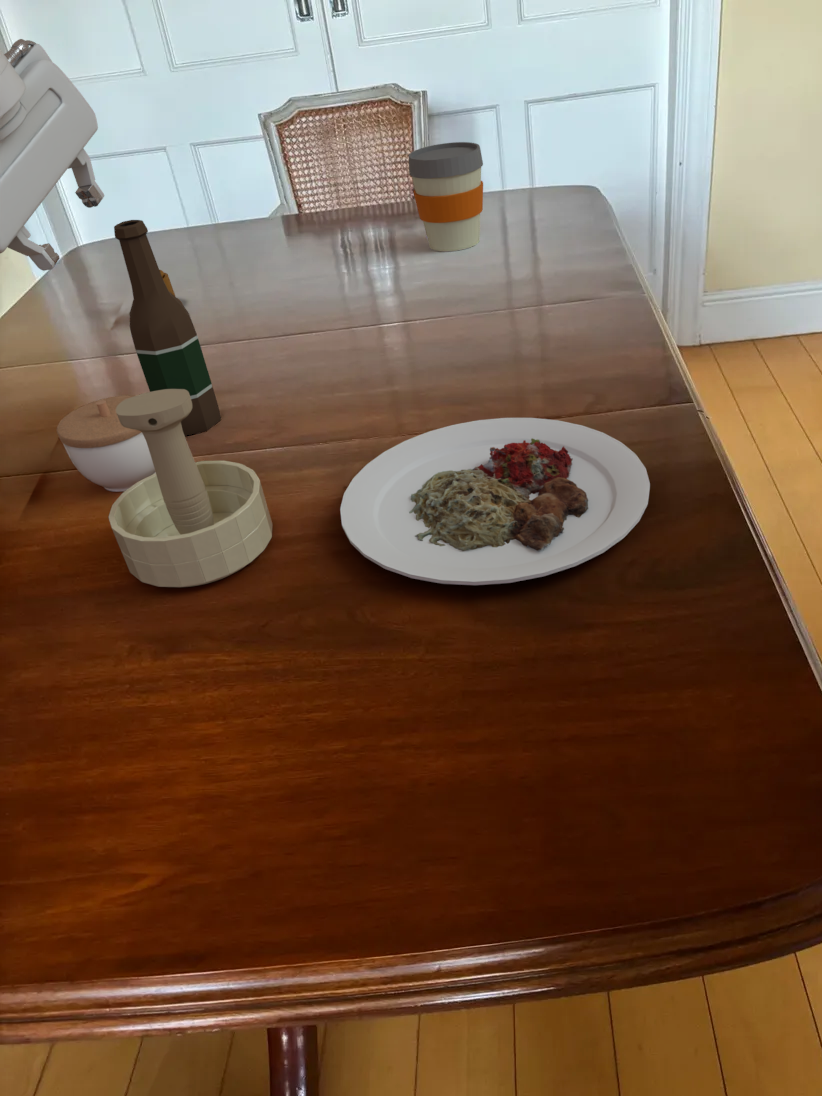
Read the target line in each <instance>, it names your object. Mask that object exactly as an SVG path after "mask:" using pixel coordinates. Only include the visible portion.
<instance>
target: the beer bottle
mask: <svg viewBox="0 0 822 1096" xmlns="http://www.w3.org/2000/svg"><path fill="white" fill-rule="evenodd" d="M113 232H114V238H115V239H116V240H118V242H119V244H120V249H121V253H122V255H123V260H124V263H125V266H126V270H127V274H128V277H129V282H130V285H131V290H132V291H131V292H132V297H133V300H132V303H131V307H130V310H129V330H130V334H131V338H132V342H133V346H134V349H135V350H134V351H135V353H136V356H137V359H138V362H139V364H140V367H141V370H142V373H143V376H144V378H145V381H146V384H147V387H148V390H149V392H152V391H158V390H164V389H185V390H187V391H188V392H189V395H190V398H191V401H192V410H191V412H190V413H189V415H188V416H187V417H186V418H185V419H183V420H182V421H181V425H182V430H183V433H184V435H185V437H188V436H187V435H189V436H192V434H193V435H196V434H200V433H205V432H207V431H209V430H210V429H211V428H213V427H214V426H215V425H217V424H218V423H219V422H221V419H222V416H221V412H220V409H219V403H218V400H217V397H216V393H215V391H214V386H213V384H212V380H211V377H210V373H209V370H208V366H207V364H206V360H205V357H204V353H203V350H202V347H201V344H200V340H199V337H198V334H197V331H196V328H195V326H194V323H193V320H192V317H191V315H190V313H189V311H188V310H187V308H186V307H185V306H184V304H182V303H183V302H182V300H181V299H179V298H178V297H177V296H176V295H175V296H176V297H175V296H174V295H173V294H172V293H171V292H169V290H168V288H167V286H166V284H165V282H164V280H163V278H162V276H161V273H160V270H161V269H160V268H159V264H158V262H157V260H156V257H155V254H154V252H153V249H152V246H151V243H150V241H149V238H148V235H147V234H148V232H149V230H148V227H147V225H146V224H145V223H144V221H143V220H142V219H129V220H124V221H121V222H120V223H117V224H116V225H113ZM177 298H178V299H179V300H178V299H177ZM181 302H182V303H181Z"/></svg>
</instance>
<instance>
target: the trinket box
mask: <svg viewBox="0 0 822 1096" xmlns="http://www.w3.org/2000/svg"><path fill="white" fill-rule="evenodd" d="M137 395H138V394H125V395H123V394H121V395H115V396H109V397H105V398H102V399H97V400H94V401H91V402H89V403H86V404H83V405H82V406H80V407H77V408H76V409H73V410H72V411H70V412H69V413H68V414H66V415H65V416H64V417H62V418H61V419H60V421H59V423H58V424H57V427H56V433H57V436H58V438H59V441H60V442H61V443H62V444H63V447H64V449H65V452H66V454H67V455H68V458H69V459H70V461H71V462H72V464H73V466H74V467H75V469H76V470H77V471H78V472H79V473H80V474H81V475H82V476H83V477H84V478H85V479H86V480H88V481H90V482H91V483H93V484H94V485H98V486H100V487H103V488H104V490H106V491H109V492H113V493H119V492H122V493H123V492H124V491H126V490H127V489H129V488H130V487H132V486H133V485H134V484H136V483H137V482H139V481H140V480H142V479H145V478H147V477H149V476H151V475H153V474H155V473H156V472H155V468H154V465H153V462H152V458H151V455H150V452H149V449H148V445H147V442H146V440H145V438H144V435H143V433H142V432H141V431H139V430H135V429H130V428H126V427H124V426H122V425H121V423H120V421H119V418H118V416H117V413H116V408H117V406H118V405H119V403H121V402H122V401H123V400H125V399H128V398H131V397H134V396H137Z"/></svg>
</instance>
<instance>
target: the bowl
mask: <svg viewBox="0 0 822 1096" xmlns="http://www.w3.org/2000/svg"><path fill="white" fill-rule="evenodd" d="M195 463H196V466H197V468H198V471H199V473H200V475H201V478H202V480H203V483H204V486H205V488H206V491H207V494H208V497H209V501H210V505H211V510H212V514H213V521H214V525H212V526H209V527H206V528H203V529H200V530H197V531H194V532H191V533H188V534H182V535H180V533H179V532H178V530H177V529H176V527H175V525H174V523H173V521H172V519H171V517H170V515H169V513H168V510H167V508H166V505H165V502H164V499H163V496H162V493H161V489H160V486H159V482H158V479H157V475H156V473H155V474H153V475H151V476H149V477H147V478H145V479H142V480H140V481H139V482H137V483H136V484H134V485H133V486H132V487H130V488H129V489H127V490H126V491H122V493H121V494H120V495H119V497H117V499H116V500H115V501H114V503H112V505H111V508H110V511H109V514H108V517H107V518H108V521H109V525H110V529H111V530H112V532H113V535H114V537H115V540H116V543H117V544H118V547H119V549H120V551H121V554H122V557H123V559H124V561H125V563H126V566H127V569H128V572H129V573H130V574H131V575H132V576H134V578H136V579H137V580H139V582H141V583H144V584H147V585H151V586H155V587H158V588H191V587H198V586H202V585H208V584H211V583H215V582H218V581H220V580H223V579H225V578H227V577H229V576H231V575H233V574H235V573H237V572H239V571H240V570H242V569H243V568H245V567H246V566H247V565H250V564H251V563H252V562H253V561H254V560H255V559H256V558H258V557H259V556H260V555H261V554H262V553H263V552H264V551H265V550H266V549H267V547H268V544H269V543H270V541H271V539H272V537H273V526H274V525H273V522H272V518H271V514H270V510H269V507H268V503H267V499H266V496H265V493H264V489H263V486H262V483H261V479H260V478H259V476H258V475H257V473H256V471H255V470H254V469H252V468H251V467H248V466H246V465H245V464H243V463H239V462H234V461H229V460H200V461H195Z"/></svg>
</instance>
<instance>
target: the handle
mask: <svg viewBox="0 0 822 1096" xmlns="http://www.w3.org/2000/svg"><path fill="white" fill-rule="evenodd" d="M136 395H137V396H134V397H131V398H128V399H125V400H123V401H122V402H121V403H119V405H118V406H117V408H116V413H117V416H118V418H119V421H120V423H121V425H122V426H124V427H126V428H130V429H135V430H139V431H141V432H142V433H143V435H144V438H145V440H146V442H147V445H148V449H149V452H150V455H151V458H152V462H153V465H154V468H155V472H156V475H157V479H158V482H159V486H160V489H161V493H162V496H163V499H164V502H165V505H166V508H167V510H168V513H169V515H170V517H171V519H172V521H173V523H174V525H175V527H176V529H177V530H178V532H179V533H180V535H182V534H188V533H191V532H194V531H197V530H200V529H203V528H206V527H209V526H212V525H214V521H213V514H212V510H211V505H210V501H209V497H208V494H207V491H206V488H205V486H204V483H203V480H202V478H201V475H200V473H199V471H198V468H197V466H196V463H195V462H196V461H195V459H194V456H193V454H192V451H191V449H190V446H189V443H188V441H187V438H186V436H185V435H184V433H183V430H182V425H181V421H182V420H183V419H185V418H186V417H187V416H188V415H189V413H190V412H191V410H192V401H191V398H190V395H189V392H188V391H187V390H185V389H164V390H158V391H152V392H150V391H147V392H143V393H140V394H136Z"/></svg>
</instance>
